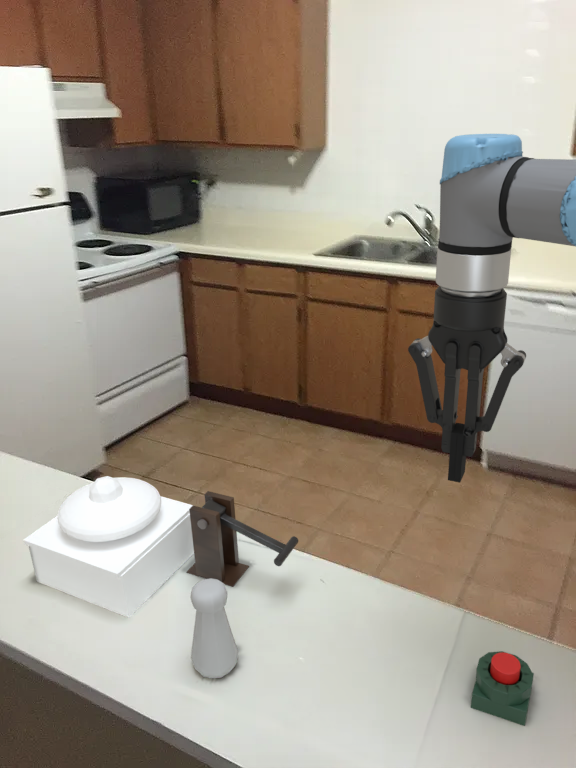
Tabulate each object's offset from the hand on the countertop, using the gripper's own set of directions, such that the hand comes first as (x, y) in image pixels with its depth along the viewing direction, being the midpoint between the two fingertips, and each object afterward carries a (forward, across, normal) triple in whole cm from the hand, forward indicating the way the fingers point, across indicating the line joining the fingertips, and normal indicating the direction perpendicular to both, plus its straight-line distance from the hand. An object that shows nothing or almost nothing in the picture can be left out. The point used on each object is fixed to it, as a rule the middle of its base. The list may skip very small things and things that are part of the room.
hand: (456, 475), depth 81 cm
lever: (+14, +28, +5) cm, 32 cm away
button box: (+22, -9, +10) cm, 26 cm away
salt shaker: (+23, +24, +20) cm, 39 cm away
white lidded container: (+23, +48, +9) cm, 53 cm away
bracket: (+22, +33, +4) cm, 40 cm away
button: (+19, -9, +10) cm, 23 cm away
